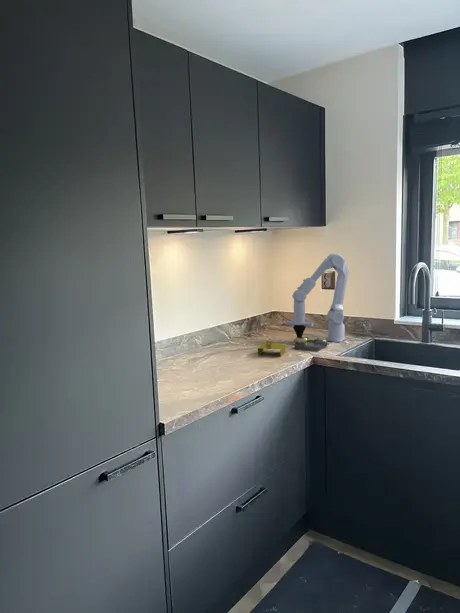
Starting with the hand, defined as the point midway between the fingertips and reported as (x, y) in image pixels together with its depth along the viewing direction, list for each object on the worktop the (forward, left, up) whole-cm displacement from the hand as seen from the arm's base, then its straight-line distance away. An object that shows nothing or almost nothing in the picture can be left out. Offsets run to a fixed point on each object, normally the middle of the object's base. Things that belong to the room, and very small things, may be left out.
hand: (299, 339), depth 234 cm
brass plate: (+2, +7, -1) cm, 7 cm away
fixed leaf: (+10, +11, -1) cm, 15 cm away
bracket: (+28, 0, -2) cm, 28 cm away
